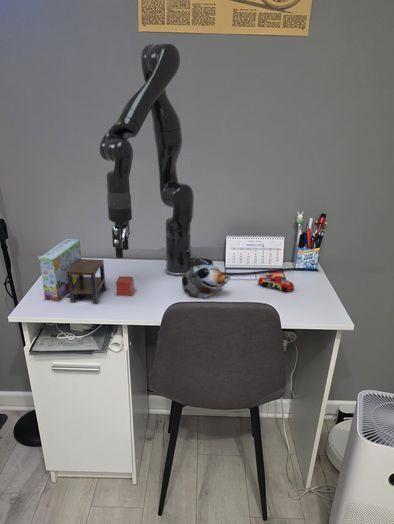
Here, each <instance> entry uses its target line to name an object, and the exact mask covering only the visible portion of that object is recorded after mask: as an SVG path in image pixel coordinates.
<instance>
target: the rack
mask: <svg viewBox="0 0 394 524" xmlns="http://www.w3.org/2000/svg"><path fill="white" fill-rule="evenodd" d="M98 271H99V273H100V275H99V276H96V274H97V272H98ZM72 275H79V278H78V280H77V281H76V282H75V284H74V285H73V278H72ZM67 276H68V283H69V291H68V292H69V297H70V303H76V295H75V294H89V295H92V300H93V304H98V303H99V299H98V292H99V290H100V289H101V291H106V290H107V286H106V285H107V284H106V273H105V262H104V259H91V258H90V259H89V258H81V259H77V261H76V262H75V263H74V264H73V265H72V266H71V268H70V269H69V270H68V271H67Z"/></svg>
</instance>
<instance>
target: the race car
mask: <svg viewBox="0 0 394 524" xmlns="http://www.w3.org/2000/svg"><path fill="white" fill-rule="evenodd" d="M257 283H258V285H260V286H262V287H263V288H266V287H267V288H270V289H275V290H278V291H282V292H284V293H286V292H290V291H293V290H294V288H295V285H294V283H293V282H291V281H290V280H287V279H285V277H283V276H280V275H278V274H262V275H260V276H259V278H258V280H257Z"/></svg>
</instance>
